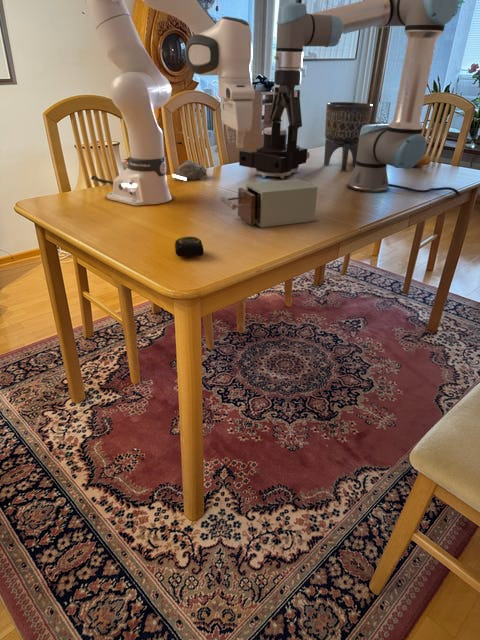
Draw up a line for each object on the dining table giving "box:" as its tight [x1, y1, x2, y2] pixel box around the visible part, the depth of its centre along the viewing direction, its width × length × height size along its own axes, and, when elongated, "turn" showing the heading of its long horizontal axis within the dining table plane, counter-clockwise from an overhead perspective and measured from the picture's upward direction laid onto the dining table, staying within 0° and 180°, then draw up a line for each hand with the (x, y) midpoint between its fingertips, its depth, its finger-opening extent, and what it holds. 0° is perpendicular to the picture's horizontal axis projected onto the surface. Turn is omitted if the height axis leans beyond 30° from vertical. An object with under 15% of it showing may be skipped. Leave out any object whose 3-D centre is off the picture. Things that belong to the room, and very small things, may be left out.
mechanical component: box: [238, 126, 311, 179], centre depth 191 cm, size 22×21×30 cm
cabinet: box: [246, 178, 318, 228], centre depth 139 cm, size 18×11×10 cm, turn 113°
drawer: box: [220, 187, 261, 226], centre depth 136 cm, size 23×10×8 cm, turn 113°
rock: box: [175, 159, 208, 182], centre depth 183 cm, size 13×9×6 cm, turn 131°
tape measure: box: [174, 236, 205, 258], centre depth 113 cm, size 7×7×4 cm
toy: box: [414, 154, 432, 168], centre depth 216 cm, size 11×6×15 cm
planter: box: [323, 101, 374, 172], centre depth 204 cm, size 20×20×26 cm
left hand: (235, 145), depth 127 cm, fingers open, 8 cm apart
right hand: (282, 148), depth 139 cm, fingers open, 13 cm apart
